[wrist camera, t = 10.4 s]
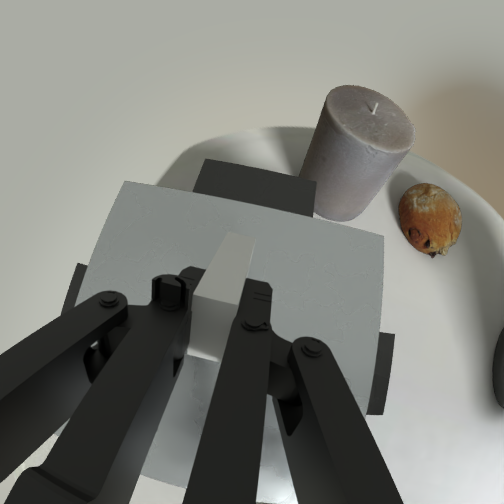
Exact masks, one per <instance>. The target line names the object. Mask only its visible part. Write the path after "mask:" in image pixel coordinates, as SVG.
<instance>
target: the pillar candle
mask: <svg viewBox="0 0 504 504" xmlns="http://www.w3.org/2000/svg"><path fill="white" fill-rule="evenodd" d="M415 132H416V131H415V127H414V125H413V124H412V123H411V122H410V120H409V118H408V117H407V116H406V114H405V113H404V112H403V111H402V109H401V108H400V107H399V106H398V105H396V104H395V103H394V102H393V101H391V100H390V99H389V98H387V97H385V96H384V95H382V94H380V93H378V92H376V91H373V90H371V89H368V88H365V87H360V86H354V85H353V86H351V85H343V86H339V87H336V88H335V89H333V90H331V91H330V92H329V94H328V95H327V97H326V101H325V103H324V107H323V109H322V112H321V115H320V118H319V121H318V124H317V127H316V130H315V132H314V135H313V138H312V141H311V144H310V147H309V149H308V152H307V155H306V158H305V160H304V164H303V167H302V169H301V172H300V175H299V177H300V178H304V179H308V180H312V181H316V182H317V185H316V194H315V203H314V212H315V213H316V214H318V215H320V216H322V217H324V218H326V219H329V220H333V221H349V220H352V219H354V218H355V217H357V216H358V215H359V214H361V213H362V212H363V210H364V209H365V208H366V207H367V206H368V204H369V203H370V202H371V200H372V199H373V198H374V197H375V196H376V194H377V193H378V191H379V190H380V189H381V187H382V186H383V185H384V183H385V182H386V181H387V179H388V178H389V177H390V175H391V174H392V173H393V171H394V170H395V169H396V167H397V166H398V164H399V163H400V162H401V160H402V159H403V158H404V156H405V155H406V154H407V152H408V151H409V150H410V148H411V147H412V146H413V145H414V141H415Z"/></svg>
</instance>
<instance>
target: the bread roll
mask: <svg viewBox="0 0 504 504" xmlns="http://www.w3.org/2000/svg"><path fill="white" fill-rule="evenodd" d="M399 215H400V223H401V228H402V231H403V233H404V234H405V236H406V238H407V239H408V241H409V243H410V244H411V245H412V246H413V247H414V248H416V249H417V250H418V251H420V252H423V253H425V254H429V255H430V256H431V258H434V257H435V255H436V254H442V255H444V256H445V255H446V254H447V252H448V248H449V247H450V246H452V245H454V244H455V243H456V241H457V238H458V236H459V234H460V231H461V226H462V215H461V211H460V208H459V206H458V204H457V203H456V202H455V200H454V199H453V198H452V197H451V196H450V195H449V194H448V193H447V192H446V191H445V190H443V189H441V188H440V187H438V186H436V185H433V184H428V183H422V184H417V185H414V186H412V187H411V188H409V189H408V190H407V191H406V192H405V193H404V195H403V197H402V199H401V201H400V204H399Z"/></svg>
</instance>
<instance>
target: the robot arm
mask: <svg viewBox="0 0 504 504" xmlns="http://www.w3.org/2000/svg"><path fill="white" fill-rule="evenodd" d="M255 240H256V238H255V237H250V236H245V235H241V234H236V233H231V232H228V233H227V234H226V236H225V238H224V240H223V241H222V243H221V245H220V247H219V248H218V250H217V252H216V254H215V255H214V257H213V259H212V261H211V263H210V264H209V266H208V268H207V270H206V269H201V268H197V267H193V266H189V267H187V268H185V269H183V270H182V271H181V272H180V274H179V275H172V274H162V275H159V276H156V277H154V278H153V279H152V292H151V301H150V303H149V304H148V305H128V300H127V298H126V296H125V295H123V294H122V293H120V292H117V291H112V290H108V291H102V292H99V293H97V294H95V295H93V296H92V297H90V298H88V299H87V300H85V301H83V302H82V303H80V304H78V305H77V306H75V307H74V308H72V309H70V310H69V311H67V312H65V313H64V314H62V315H61V316H59V317H58V318H56V319H54V320H53V321H51V322H50V323H48V324H47V325H45V326H43V327H42V328H40V329H39V330H37V331H36V332H34V333H32V334H31V335H29V336H28V337H26V338H25V339H23V340H22V341H20V342H19V343H17V344H16V345H14V346H13V347H11V348H10V349H8V350H7V351H5V352H4V353H2V354H1V355H0V483H1V482H2V481H3V480H5V479H6V478H7V477H8V476H9V475H10V474H11V473H12V472H13V471H14V470H15V469H16V468H17V467H18V466H20V465H21V464H22V463H23V462H24V461H25V460H26V459H27V458H28V457H29V456H30V455H31V454H32V453H33V452H34V451H36V450H37V449H38V448H39V447H40V446H41V445H42V444H43V443H44V442H45V441H46V440H47V439H48V438H49V437H50V436H52V435H53V434H54V433H55V432H56V431H57V430H58V429H59V428H60V427H61V426H62V425H63V424H64V423H65V422H67V421H68V420H69V421H68V423H67V424H66V426H65V427H64V429H63V431H62V432H61V434H60V436H59V437H58V439H57V441H56V442H55V444H54V446H53V447H52V449H51V451H50V453H49V454H48V456H47V458H46V459H45V461H44V462H43V464H41V465H40V466H38V467H29V468H28V469H26V470H24V471H23V472H22V473H21V475H20V476H19V477H18V479H17V480H16V482H15V484H14V486H13V488H12V490H11V491H10V493H9V495H8V497H7V499H6V501H5V503H4V504H129V502H130V499H131V497H132V494H133V491H134V489H135V486H136V483H137V481H138V478H139V475H140V473H141V470H142V467H143V465H144V462H145V460H146V457H147V454H148V452H149V449H150V447H151V444H152V441H153V439H154V436H155V434H156V431H157V429H158V426H159V424H160V421H161V419H162V416H163V414H164V411H165V409H166V406H167V404H168V401H169V399H170V396H171V394H172V391H173V389H174V386H175V384H176V381H177V379H178V376H179V374H180V371H181V369H182V367H183V364H184V354H185V351H186V349H187V347H188V352H187V354H188V355H192V356H196V357H200V358H204V359H208V360H212V361H216V362H220V363H221V365H220V369H219V373H218V376H217V380H216V383H215V387H214V391H213V394H212V398H211V402H210V405H209V409H208V413H207V416H206V420H205V423H204V427H203V431H202V434H201V438H200V442H199V445H198V449H197V453H196V456H195V460H194V463H193V467H192V471H191V474H190V478H189V482H188V485H187V489H186V493H185V496H184V500H183V503H182V504H256V497H257V489H258V480H259V471H260V462H261V453H262V443H263V433H264V423H265V412H266V401H267V394H268V395H270V396H272V402H273V406H274V410H275V414H276V418H277V422H278V426H279V430H280V434H281V438H282V442H283V446H284V450H285V454H286V458H287V462H288V466H289V470H290V474H291V478H292V482H293V486H294V490H295V494H296V497H297V501H298V504H403V501H402V499H401V497H400V494H399V492H398V490H397V488H396V485H395V483H394V481H393V479H392V477H391V474H390V472H389V470H388V468H387V466H386V463H385V461H384V459H383V457H382V455H381V453H380V450H379V448H378V446H377V444H376V442H375V440H374V438H373V436H372V433H371V431H370V429H369V427H368V425H367V423H366V421H365V419H364V417H363V415H362V412H361V410H360V408H359V406H358V404H357V402H356V400H355V398H354V396H353V394H352V392H351V390H350V388H349V386H348V384H347V382H346V380H345V378H344V376H343V374H342V372H341V370H340V368H339V366H338V364H337V362H336V360H335V358H334V356H333V354H332V352H331V350H330V348H329V347H328V346H327V344H325V343H324V342H322V341H321V340H319V339H316V338H314V337H307V336H305V337H299V338H297V339H295V340H294V342H293V343H292V342H290V341H287V340H285V339H283V338H281V337H280V336H278V335H277V334H276V333H275V332H274V331H273V330H272V326H271V324H270V318H271V305H272V291H273V289H272V288H271V286H270V284H269V283H268V282H263V281H259V280H254V279H249V278H247V277H248V273H249V268H250V263H251V259H252V254H253V249H254V244H255ZM96 341H97V344H96V345H94V346H92V347H91V345H93V344H94V343H95V342H96ZM493 383H494V390H495V394H496V398H497V400H498V402H499V404H500V405H501V406H502V407H503V408H504V329H503V330H502V332H501V335H500V337H499V340H498V343H497V347H496V351H495V357H494V365H493Z"/></svg>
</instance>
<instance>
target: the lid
mask: <svg viewBox="0 0 504 504" xmlns="http://www.w3.org/2000/svg"><path fill="white" fill-rule="evenodd" d="M316 185H317V182H316V181H312V180H308V179H304V178H300V177H295V176H291V175H287V174H282V173H278V172H273V171H268V170H264V169H259V168H254V167H249V166H244V165H239V164H233V163H228V162H222V161H216V160H210V159H205V161H204V164H203V166H202V169H201V171H200V174H199V176H198V179H197V182H196V184H195V187H194V189H193V192H188V191H183V190H177V189H171V188H166V187H160V186H154V185H148V184H141V183H135V182H129V181H125V182H124V184H123V186H122V188H121V190H120V192H119V194H118V196H117V198H116V200H115V202H114V205H113V207H112V209H111V211H110V213H109V215H108V218H107V220H106V222H105V225H104V227H103V229H102V232H101V234H100V237H99V239H98V241H97V244H96V247H95V249H94V252H93V254H92V257H91V259H90V262H89V265H88V267H87V270H86V273H85V276H84V279H83V282H82V285H81V288H80V291H79V294H78V297H77V300H76V303H75V306H77V305H78V304H80V303H82V302H83V301H85V300H87V299H88V298H90V297H92V296H93V295H95V294H97V293H99V292H102V291H108V290H112V291H117V292H120V293H122V294H123V295H125V296H126V298H127V300H128V305H148V304H149V303H150V301H151V292H152V279H153V278H154V277H156V276H159V275H162V274H172V275H179V274H180V272H181V271H182V270H183V269H185V268H187V267H189V266H193V267H197V268H201V269H206V270H207V268H208V266H209V264H210V263H211V261H212V259H213V257H214V255H215V254H216V252H217V250H218V248H219V247H220V245H221V243H222V241H223V240H224V238H225V236H226V234H227V233H228V232H231V233H236V234H241V235H245V236H250V237H255V238H256V240H255V244H254V249H253V254H252V259H251V263H250V268H249V273H248V277H247V278H249V279H254V280H259V281H263V282H268V283H269V284H270V286H271V288H272V289H273V291H272V305H271V318H270V324H271V326H272V330H273V331H274V332H275V333H276V334H277V335H278V336H280V337H281V338H283V339H285V340H287V341H290V342H292V343H293V342H294V340H295V339H297V338H299V337H305V336H307V337H314V338H316V339H319V340H321V341H322V342H324V343H325V344H327V346H328V347H329V348H330V350H331V352H332V354H333V356H334V358H335V360H336V362H337V364H338V366H339V368H340V370H341V372H342V374H343V376H344V378H345V380H346V382H347V384H348V386H349V388H350V390H351V392H352V394H353V396H354V398H355V400H356V402H357V404H358V406H359V408H360V410H361V412H362V415H363V417H364V419H365V417H366V413H367V408H368V403H369V398H370V392H371V387H372V381H373V375H374V369H375V362H376V354H377V347H378V338H379V329H380V319H381V307H382V292H383V270H384V236H382V235H379V234H375V233H371V232H367V231H364V230H360V229H356V228H352V227H348V226H344V225H340V224H336V223H332V222H328V221H324V220H320V219H316V218H313V212H314V203H315V194H316ZM96 344H97V341H96V342H95V343H94V344H93V345H91V347H92V346H94V345H96ZM187 352H188V347H187V349H186V351H185V354H184V364H183V367H182V369H181V371H180V374H179V376H178V379H177V381H176V384H175V386H174V389H173V391H172V394H171V396H170V399H169V401H168V404H167V406H166V409H165V411H164V414H163V416H162V419H161V421H160V424H159V426H158V429H157V431H156V434H155V436H154V439H153V441H152V444H151V447H150V449H149V452H148V454H147V457H146V460H145V462H144V465H143V467H142V470H141V473H140V474H141V475H143V476H146V477H149V478H152V479H155V480H158V481H161V482H165V483H168V484H171V485H175V486H178V487H182V488H186V489H187V485H188V482H189V478H190V474H191V471H192V467H193V463H194V460H195V456H196V453H197V449H198V445H199V442H200V438H201V434H202V431H203V427H204V423H205V420H206V416H207V413H208V409H209V405H210V402H211V398H212V394H213V391H214V387H215V383H216V380H217V376H218V373H219V369H220V365H221V363H220V362H216V361H212V360H208V359H204V358H200V357H196V356H192V355H188V354H187ZM68 421H69V420H68ZM68 421H67V422H65V423H64V424H63V425H62V426H61V427H60V428H59V429H58V430H57V431H56V432H55V433H54V434H56V435H57V436H60V434H61V432H62V431H63V429H64V427H65V426H66V424H67V423H68ZM256 502H264V503H275V504H298V501H297V497H296V494H295V490H294V486H293V482H292V478H291V474H290V470H289V466H288V462H287V458H286V454H285V450H284V446H283V442H282V438H281V434H280V430H279V426H278V422H277V418H276V414H275V410H274V406H273V402H272V396H270V395H268V394H267V401H266V412H265V423H264V433H263V443H262V453H261V462H260V471H259V480H258V489H257V497H256Z"/></svg>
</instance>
